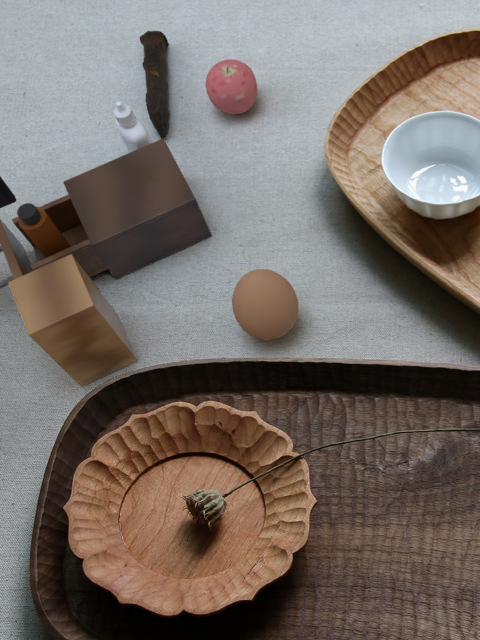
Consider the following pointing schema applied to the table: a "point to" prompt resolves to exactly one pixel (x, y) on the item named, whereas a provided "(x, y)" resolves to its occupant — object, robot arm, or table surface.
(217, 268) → the table surface
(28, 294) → the block
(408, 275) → the table surface
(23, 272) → the drawer
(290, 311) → the egg
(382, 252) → the table surface
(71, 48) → the table surface
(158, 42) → the hand tool
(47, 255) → the amber bottle
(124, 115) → the eye dropper bottle
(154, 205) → the cabinet
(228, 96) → the apple
